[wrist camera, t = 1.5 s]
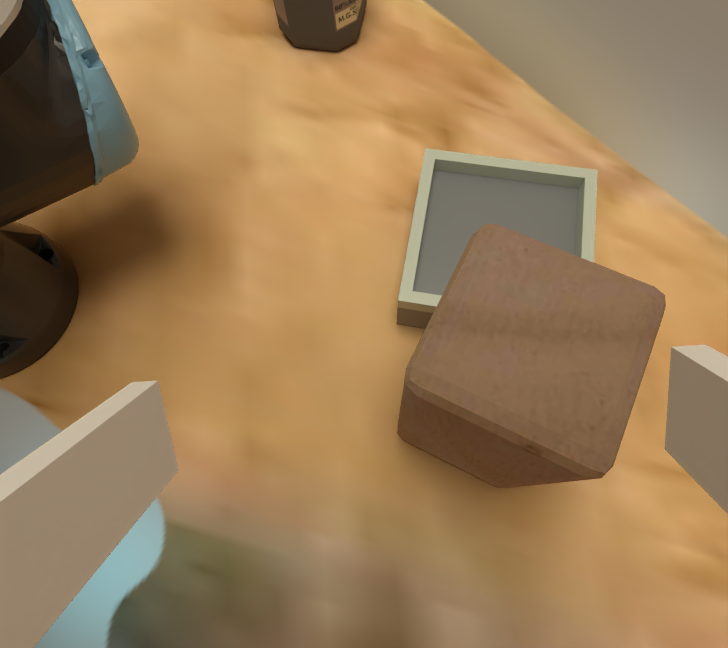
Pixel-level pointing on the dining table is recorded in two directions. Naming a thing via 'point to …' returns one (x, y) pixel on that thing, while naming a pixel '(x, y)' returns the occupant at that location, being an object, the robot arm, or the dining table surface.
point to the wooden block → (529, 363)
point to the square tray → (488, 217)
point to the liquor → (320, 22)
